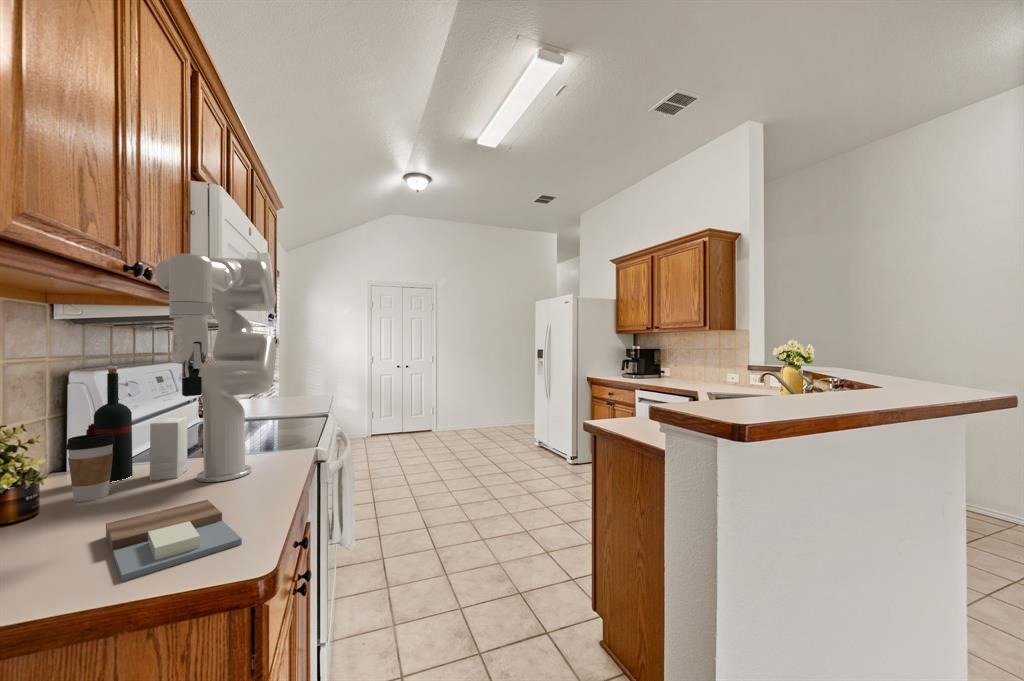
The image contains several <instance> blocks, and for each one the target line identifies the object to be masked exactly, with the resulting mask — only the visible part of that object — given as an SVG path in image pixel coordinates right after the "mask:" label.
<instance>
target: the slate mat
mask: <svg viewBox="0 0 1024 681" xmlns="http://www.w3.org/2000/svg"><path fill="white" fill-rule="evenodd" d="M195 529H196V531H197V532H198V534H199V535H200V548H196V549H193V550H189V551H186V552H182V553H179V554H176V555H172V556H169V557H165V558H162V559H158V560H155V559H154V557H153V554H152V552H151V549H150V547H149V544H148V541H145V542H141V543H138V544H134V545H130V546H127V547H123V548H119V549H116V550H113V555H112V557H113V560H114V563H115V565H116V568H117V571H118V574H119V577H120V579H121V582H122V583H123V582H126V581H129V580H131V579H136V578H139V577H141V576H146V575H148V574H150V573H155V572H157V571H160V570H164V569H167V568H170V567H172V566H173V567H174V566H176V565H180V564H183V563H185V562H189V561H192V560H195V559H198V558H203V557H205V556H208V555H211V554H215V553H218V552H221V551H224V550H228V549H231V548H234V547H237V546H240V545H243V543H242V542H243V538H242V537H241V536H240V535H239V534H238V533H237V532H235V531H234V530H233V529H232V528H231V527H230V526H229V524H227V523H226V522H225V521H224V520H222V521H219V522H215V523H212V524H208V525H204V526H201V527H197V528H195Z"/></svg>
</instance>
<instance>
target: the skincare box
mask: <svg viewBox="0 0 1024 681" xmlns="http://www.w3.org/2000/svg"><path fill="white" fill-rule="evenodd" d="M188 420H189V419H188V416H180V417H165V418H164V417H163V418H160V419H158V420H156V421H153V422H151V423H150V424H149V425H150V426H149V427H150V429H149V430H150V431H149V432H150V433H149V435H150V436H149V437H150V438H149V443H150V444H149V481H150V480H154V481H159V480H158V479H164V480H170V479H169V478H174V479H178V478H179V477H180V476H181V475H183V474H184V473H185V472H187V470H188V422H189V421H188Z"/></svg>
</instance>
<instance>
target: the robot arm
mask: <svg viewBox="0 0 1024 681" xmlns="http://www.w3.org/2000/svg"><path fill="white" fill-rule="evenodd" d="M271 274H272V273H271V271H270V269H269V266H267V263H265V262H264V261H263V260H261V259H255V258H253V259H252V258H234V257H233V258H232V257H207V256H204V255H201V254H200V255H199V254H193V253H175V254H172V255H171V256H170V258H164V259H162V260H160V261H159V262H158V263H157V265H155V270H154V279H155V281H156V283H157V285H158V287H159V288H160V289H162V290H164V291H165V292H168V293H169V294H168V297H169V298H168V300H169V302H168V304H169V309H168V310H169V313H168V314H169V319H173V320H174V321H173V327H172V344H171V345H172V346H171V347H172V348H171V361H172V363H174V364H177V365H179V364H181V372H182V373H181V374H182V377H181V395H182V397H196V396H201V399H202V400H201V401H202V418H203V419H202V421H203V422H202V425H203V426H202V427H203V428H202V430H203V431H202V432H203V433H202V434H203V436H202V438H203V440H202V442H203V451H202V452H203V471H200V472H199V473H197V474H196V481H198V482H201V483H214V482H215V483H216V482H218V483H219V482H223V481H224V482H226V481H230V480H234V479H239V478H243V477H245V476H246V475H249V474H250V473H252V466H250V465H247V464H246V453H245V452H246V443H245V442H246V440H245V439H246V438H245V437H246V431H245V430H246V427H245V425H246V424H245V423H246V422H245V420H246V419H245V416H246V415H245V408H244V406H243V405H242V403H241V402H240V401H239V400H238V399H236V398H235V396H239V395H240V396H243V395H259V394H266V393H268V392H269V391H270V390H271V388H272V386H273V381H274V375H275V365H276V357H277V344H276V341H275V339H274V337H273V336H272V335H270V334H268V333H261V332H260V333H257V332H256V333H254V332H253V333H252V329H253V328H252V325H251V323H250V322H249V321H248V319H246V317H245V316H243V315H242V314H240V313H239V312H237V311H241V312H242V311H245V312H246V311H247V312H248V311H249V312H256V311H257V312H266V311H271V310H273V309H274V308H275V306H276V303H277V296H276V295H277V294H276V291H275V290H276V289H275V287H274V283H273V278H272V275H271ZM213 314H214V316H215V319H216V321H217V325H218V328H217V332H216V334H215V335H216V336H215V340H214V344H213V349H212V358H213V360H214V361H211V362H208V360H209V351H210V350H209V348H210V347H209V326H208V320H211V319H213ZM207 362H208V363H207ZM205 363H206V364H205ZM203 364H204V365H203Z"/></svg>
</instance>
